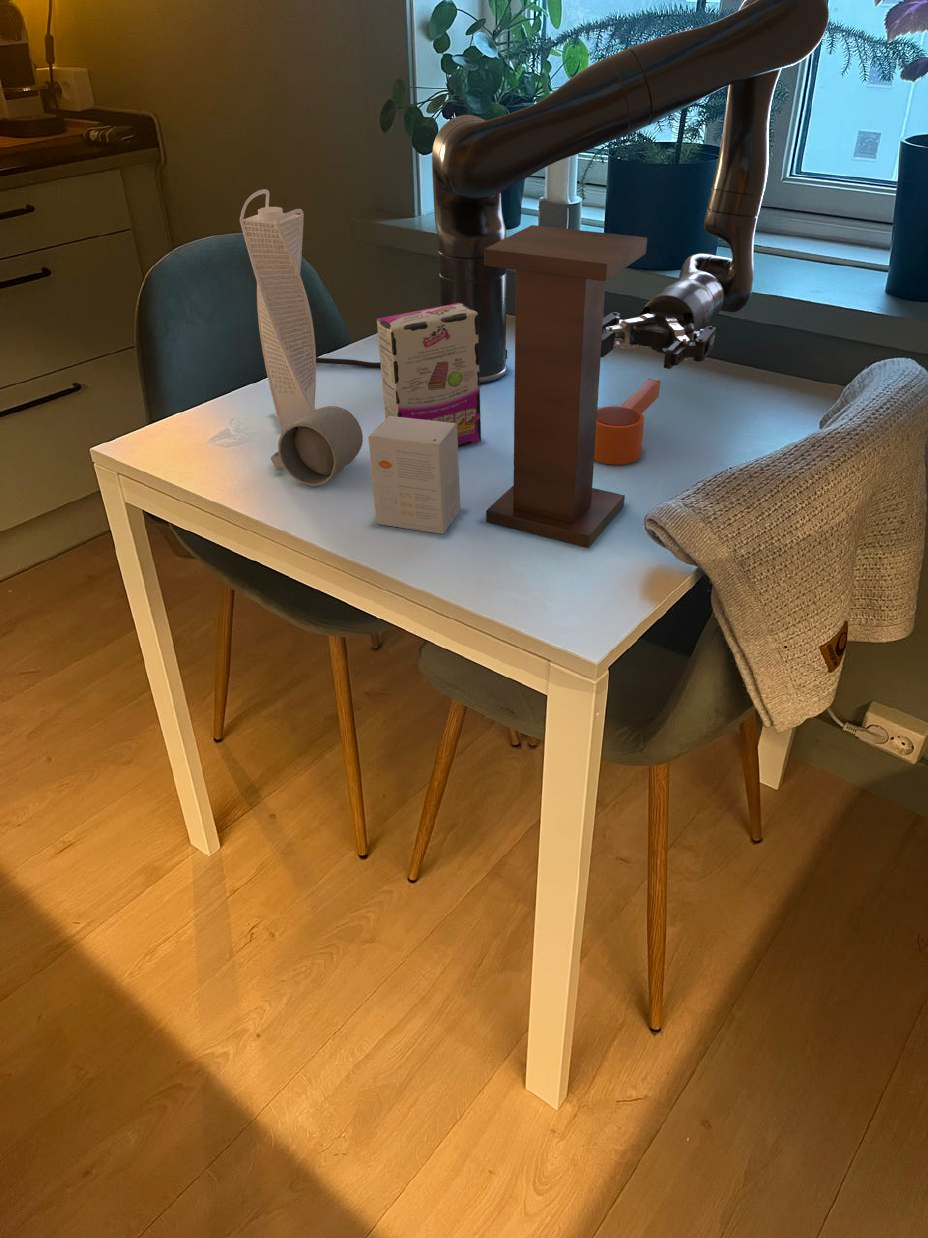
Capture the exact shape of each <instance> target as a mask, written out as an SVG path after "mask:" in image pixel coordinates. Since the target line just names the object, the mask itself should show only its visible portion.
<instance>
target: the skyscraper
mask: <svg viewBox="0 0 928 1238" xmlns="http://www.w3.org/2000/svg"><path fill="white" fill-rule="evenodd" d="M260 195H265V206H264V207H260V208H258V209H257V214H255V215H252V216H249V217H247V218H244V217H245V214H246V209H247V207H248V205H249V204H250V202H251V201H252V200H254V198H256V197H258V196H260ZM269 205H270V190H268V189H266V188H263V189H259V190H256V191H255V192H253V193H252V194H250V195H249V197H248V198H247V199H246V200H245V202H244V204H243V206H242V209H241V212H240V216H239V224H240V227H241V231H242V234H243V238H244V242H245V245H246V249H247V252H248V255H249V256H248V257H249V259H250V262H251V267H252V270H253V274H254V276H255V281H256V308H257V321H258V330H259V337H260V338H259V339H260V343H261V344H260V345H261V350H262V355H263V359H264V360H263V362H264V366H265V367H264V368H265V371H266V376H267V381H268V384H269V389H270V392H271V397H272V402H273V405H274V410H275V415H274V417H275V418H276V419H277V421H278V424H279V428H280V433H283V431H284V430H285V429H286V428H287V427H288V426H290V425H291V424H293V423H295V422H297V421H298V420H300V419H302V418H304V417H305V416H307V415H309V414H310V413H312V412H313V411H315V410H316V409H315V405H316V385H317V363H316V358H317V354H316V340H315V330H314V323H313V317H312V311H311V307H310V303H309V299H308V295H307V292H306V289H305V285H304V282H303V278H302V277H301V269H302V268H301V267H302V255H303V252H302V251H303V238H304V218H305V214H304V211H303V209H302V208H296V209H293V210H290V211H288V212H284V210H283V207H281V206H280V207H279V206H269Z"/></svg>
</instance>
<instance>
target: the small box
mask: <svg viewBox="0 0 928 1238" xmlns="http://www.w3.org/2000/svg"><path fill="white" fill-rule="evenodd" d="M367 439H368V440H367V441H368V451H369V461H370V469H371V471H370V472H371V480H372V490H373V499H374V511H375V522H376V524H377V525H378V526H379V525H380V526H387V527H392V528H393V527H394V528H399V529H407V530H414V531H420V532H427V533H433V534H441V535H444V534H445V533H446V532H447V530H448V529H449V527H450V526H451V524H452V523H453V522H454V520H455V518H456V517H457V516H458V514H459V513H460V512H461V509H462V508H461V507H462V506H461V485H460V466H459V465H460V463H459V447H458V438H457V424H456V423H449V422H440V421H431V420H422V419H413V418H404V417H395V416H388V417H387V418H386V419H384V420H383V421H382V422H381V423H380V424H379V425H378V426H377V427H376V428H375V429H374V430H373V431H372V432H371V433H370V434H369V435H368V437H367Z"/></svg>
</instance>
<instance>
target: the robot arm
mask: <svg viewBox="0 0 928 1238" xmlns="http://www.w3.org/2000/svg"><path fill="white" fill-rule="evenodd" d="M829 18H830V9H829V5H828V2H827V0H744V1H743V2H742V4H741V5H740V7H739V8H738V10H737V11H735V12H734V13H731V14H729V15H728V16H724V17H723V18H721V19H718V20H716V21H714V22H712V23H709V24H706V25H702V26H698V27H695V28H692V29H691V28H690V29H686V30H683V31H679V32H675V33H672V34H667V35H663V36H660V37H657V38H653V39H650V40H647V41H644V42H641V43H639V44H635V45H633V46H630V47H628V48H626V49H624V50H621V51H618V52H617V53H613V54H612V55H609V56H607V57H605V58H602V59H600V60H599V61H596V62H595V63H593V64H591V65H588V66H587V67H585V68H584V69H583V70H581V71H579V72H578V73H577V74H575V75H574V76H573V77H571V78H569V80H566V81H565V82H564V83H563V84H562V85H561V86H559V87H558V88H557V89H556V90H554V91H553V92H551V93H550V94H549V95H548V96H546V97H544V98H543V99H541V100H540V101H537V102H536V103H533V104H532V105H529V106H527V107H524V108H521V109H518V110H516V111H513V112H510V113H508V114H505V115H502V116H499V117H495V118H491V119H488V120H485V119H483V118H481V117H479V116H476V115H471V114H463V115H458V116H455V117H453V118H451V119H449V120H447V122H445V124H443V125H442V127H440V129H439V131H438V132H437V134H436V136H435V139H434V142H433V146H432V150H431V151H432V152H431V173H432V175H431V176H432V193H433V208H434V209H433V213H434V214H433V215H434V224H435V229H436V234H437V245H438V269H439V270H438V271H439V272H438V273H439V274H438V275H439V301H440V304H439V305H440V306H446V305H451V304H457V303H462V304H464V306H467V307H469V308H470V309H472V310H474V311H476V312H477V313H478V346H479V384H480V383H488V382H493V381H496V380H498V379H500V378H502V377H503V376H505V375H506V373H507V363H506V362H507V360H508V349H507V268H499V267H491V266H485V265H484V249H485V248H487V247H489V246H491V245H493V244H495V243H497V242H499V241H501V240H503V239H505V238H507V229H506V225H505V221H504V217H503V216H504V215H503V210H502V209H503V207H502V193H503V192H505V191H506V190H508V189H510V188H511V187H513V186H515V185H516V184H518V183H520V182H521V181H524V180H525V179H527V178H529V177H531V176H533V175H534V174H536V173H538V172H539V171H541V170H543V169H546V168H547V167H549V166H550V165H553V164H555V163H557V162H560V161H562V160H565V159H568V158H571V157H573V156H576V155H579V154H582V153H585V152H587V151H590V150H592V149H595V148H598V147H600V146H603V145H606V144H608V143H610V142H613V141H615V140H618V139H620V138H623V137H625V136H628V135H630V134H632V133H634V132H637V131H639V130H642V129H644V128H646V127H649V126H651V125H653V124H655V123H658V122H660V121H661V120H663V119H665V118H667V117H670V116H671V115H673V114H675V113H677V112H679V111H682V110H684V109H686V108H688V107H689V106H692V105H694V104H695V103H697V102H699V101H701V100H703V99H704V98H706V97H708V96H710V95H712V94H714V93H715V92H718V91H719V90H722V89H724V88H726V87H728V89H727V98H726V106H725V113H724V122H723V128H722V135H721V141H720V147H719V152H718V158H717V162H716V167H715V171H714V175H713V179H712V184H711V189H710V193H709V197H708V203H707V205H706V211H705V215H704V219H703V230H704V231H705V233H706V234H708V235H709V236H712V237H713V238H716V239H718V240H721V241H723V242H724V243H726V244H727V245H728V247H729V249H730V252H731V258H730V257H725V256H720V255H713V254H710V253H695V254H692V255H689V256H688V257H687V258H686V259H685V260H684V262H683V264H682V267H680V268H681V269H680V272H679V276H678V280H677V281H676V282H674V283H671V284H670V285H668V286H667V287H665V288H664V289H663V290H662V291H660V292H659V293H658V294H657V295H655V296H654V297H652V299H650V300H649V301H647V302H646V304H645V305H644V306H643V308H642V309H641V311H640V313H639V314H638V315H637V316H634V317H631V318H627V319H620V318H621V313H620V312H617V311H616V312H615V311H614V312H611V313H609V314H608V315H606V316H603V328H602V343H601V358H604V357H606V356H607V355H608V354H609V353H611V352H612V351H613V350H614V349H618V348H621V349H623V350H624V351H629V350H633V349H639V348H642V349H649V348H650V349H651V350H653V351H654V352H656V353H659V354H662V355H664V359H663V368H664V369H668V370H671V369H672V368H673V367H676V366H678V365H680V363H682V362H685V361H688V358H693V359H692V360H693V361H694V362H696V363H697V362H698V363H700V362H704V361H705V359H706V358H707V357H708V355H709V354H710V353H711V351H712V350H713V349H714V345H715V338H716V329H717V328H716V327H715V326H713V325H709V324H710V323H711V322H712V321H713V320H714V319H715V318H716V317H717V316H718V314H719V313H720V312H721V311H722V312H726V313H737V312H739V311H741V310H742V309H744V308H745V307H746V306H747V305H748V303H749V302H750V299H751V297H752V294H753V292H754V286H755V267H754V264H755V263H754V248H755V246H754V245H755V232H756V226H757V222H758V219H759V218H758V217H759V214H760V209H761V206H762V202H763V197H764V193H765V190H766V185H767V179H768V173H769V161H770V160H769V158H770V153H769V152H770V150H769V149H770V148H769V147H770V146H769V143H770V142H769V137H770V135H769V134H770V133H769V131H770V117H771V108H772V102H773V98H774V93H775V90H776V85H777V82H778V80H779V77H780V75H781V71H782V69H784V68H788V67H792V66H794V65H797V64H798V63H800V62H802V61H803V60H805V59H806V58H807V57H809V56H810V55H811V54H812V53H813V52H814V51H815V50H816V48H817V47H818V46H819V44H820V43H821V41H822V39H823V37H824V35H825V33H826V31H827V28H828V24H829ZM708 325H709V326H708ZM616 337H619V338H618V339H617V340H616ZM631 339H632V340H631ZM630 340H631V341H630ZM316 364H328V365H347V366H355V367H361V368H369V369H381V363H380V361H379V362H371V361H365V360H357V359H349V358H331V357H330V358H328V357H316Z"/></svg>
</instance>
